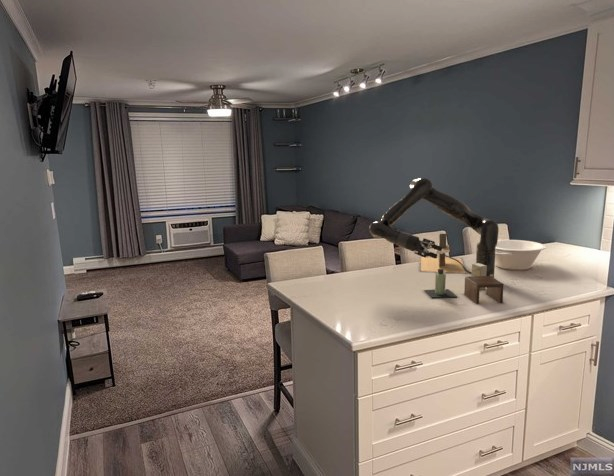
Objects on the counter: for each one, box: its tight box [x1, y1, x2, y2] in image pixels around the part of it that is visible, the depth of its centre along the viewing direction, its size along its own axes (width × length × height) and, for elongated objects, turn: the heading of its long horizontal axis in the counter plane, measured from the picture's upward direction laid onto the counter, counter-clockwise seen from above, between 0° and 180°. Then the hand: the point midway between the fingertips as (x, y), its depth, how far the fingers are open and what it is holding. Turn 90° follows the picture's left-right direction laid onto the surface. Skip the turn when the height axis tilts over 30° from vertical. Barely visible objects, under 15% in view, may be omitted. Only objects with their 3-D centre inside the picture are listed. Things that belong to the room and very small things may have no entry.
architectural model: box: [420, 230, 467, 274], centre depth 265 cm, size 38×25×20 cm, turn 165°
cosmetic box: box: [470, 262, 487, 291], centre depth 215 cm, size 6×4×12 cm
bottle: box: [434, 269, 447, 295], centre depth 207 cm, size 5×5×12 cm
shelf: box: [463, 275, 505, 305], centre depth 199 cm, size 14×12×9 cm
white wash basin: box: [495, 239, 547, 271], centre depth 255 cm, size 44×34×13 cm
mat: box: [424, 288, 458, 299], centre depth 208 cm, size 12×12×1 cm
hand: (439, 252), depth 206 cm, fingers open, 8 cm apart
